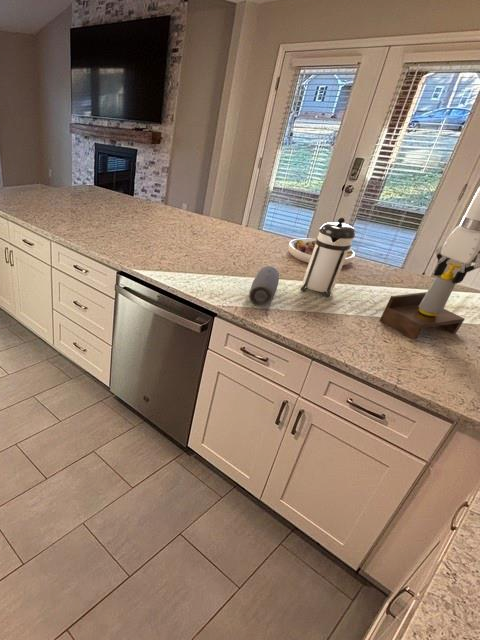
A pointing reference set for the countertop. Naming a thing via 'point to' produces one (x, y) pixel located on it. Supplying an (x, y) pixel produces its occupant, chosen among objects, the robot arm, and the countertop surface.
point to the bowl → (310, 250)
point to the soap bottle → (438, 293)
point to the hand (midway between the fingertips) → (446, 278)
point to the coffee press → (328, 256)
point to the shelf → (416, 316)
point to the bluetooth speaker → (264, 286)
